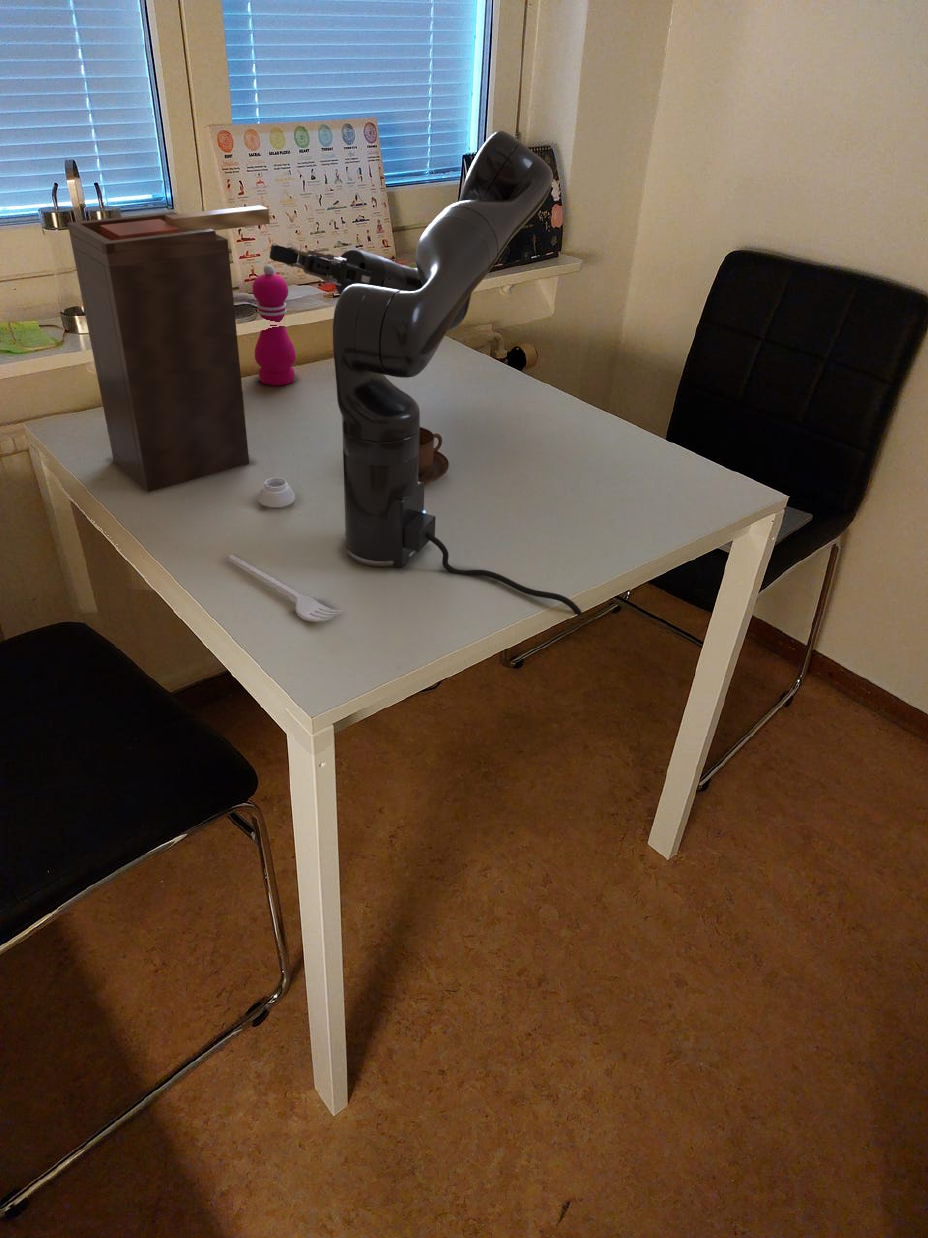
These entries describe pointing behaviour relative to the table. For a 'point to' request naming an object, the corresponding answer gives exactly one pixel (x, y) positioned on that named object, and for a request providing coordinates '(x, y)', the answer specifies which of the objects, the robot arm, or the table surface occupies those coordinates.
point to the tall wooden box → (164, 349)
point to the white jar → (276, 493)
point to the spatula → (189, 222)
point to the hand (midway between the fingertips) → (288, 256)
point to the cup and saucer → (430, 457)
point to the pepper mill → (273, 330)
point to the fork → (291, 595)
